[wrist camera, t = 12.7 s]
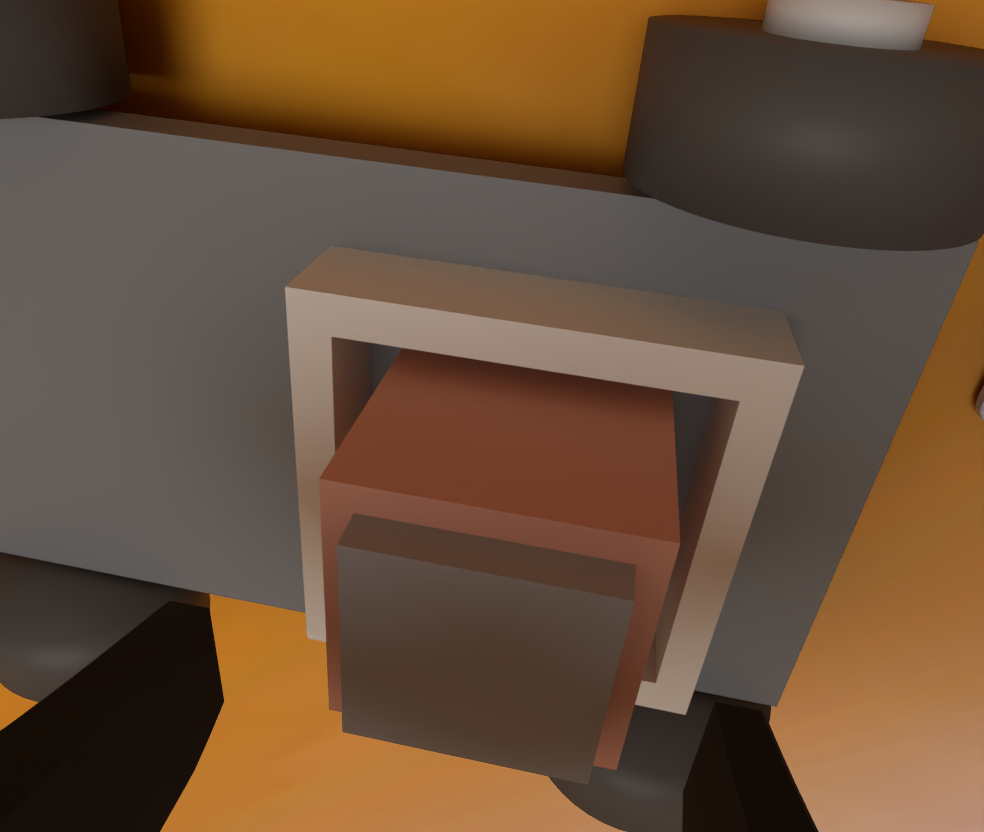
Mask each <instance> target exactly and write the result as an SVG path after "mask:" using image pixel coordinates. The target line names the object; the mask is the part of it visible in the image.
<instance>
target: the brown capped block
mask: <svg viewBox="0 0 984 832" xmlns="http://www.w3.org/2000/svg"><path fill="white" fill-rule="evenodd" d="M319 491H320V513H321V536H322V558H323V580H324V602H325V625H326V647H327V669H328V692H329V710H334V711H339V712H342V728H343V732H345V733H350V734H355V735H359V736H364V737H369V738H373V739H378V740H383V741H387V742H392V743H396V744H401V745H406V746H410V747H415V748H420V749H424V750H429V751H434V752H438V753H443V754H447V755H452V756H457V757H461V758H466V759H471V760H475V761H480V762H485V763H489V764H494V765H499V766H503V767H508V768H512V769H517V770H522V771H526V772H531V773H536V774H540V775H545V776H550V777H554V778H559V779H563V780H568V781H573V782H577V783H582V784H587V785H588V783H589V779H590V775H591V771H592V767H593V766H597V767H602V768H607V769H612V770H617V766H618V763H619V759H620V755H621V752H622V748H623V745H624V741H625V738H626V734H627V731H628V727H629V724H630V720H631V716H632V713H633V709H634V706H635V702H636V699H637V695H638V692H639V688H640V685H641V681H642V678H643V674H644V670H645V667H646V663H647V660H648V656H649V653H650V649H651V646H652V642H653V639H654V635H655V631H656V628H657V624H658V621H659V617H660V614H661V610H662V607H663V603H664V600H665V596H666V592H667V589H668V585H669V582H670V578H671V575H672V571H673V568H674V564H675V561H676V557H677V553H678V550H679V546H680V528H679V508H678V489H677V469H676V450H675V430H674V411H673V391H672V390H665V389H659V388H653V387H647V386H640V385H634V384H628V383H621V382H615V381H609V380H602V379H596V378H590V377H584V376H577V375H571V374H565V373H558V372H552V371H546V370H539V369H533V368H527V367H520V366H514V365H508V364H502V363H495V362H489V361H483V360H476V359H470V358H464V357H457V356H451V355H445V354H439V353H432V352H426V351H420V350H413V349H407V348H402V349H401V351H400V352H399V354H398V355H397V357H396V358H395V360H394V362H393V363H392V365H391V366H390V368H389V369H388V371H387V373H386V374H385V376H384V377H383V379H382V380H381V382H380V384H379V385H378V387H377V388H376V390H375V391H374V393H373V395H372V396H371V398H370V399H369V401H368V402H367V404H366V406H365V407H364V409H363V410H362V412H361V413H360V415H359V417H358V418H357V420H356V421H355V423H354V424H353V426H352V428H351V429H350V431H349V432H348V434H347V435H346V437H345V439H344V440H343V442H342V443H341V445H340V446H339V448H338V450H337V451H336V453H335V454H334V456H333V457H332V459H331V461H330V462H329V464H328V465H327V467H326V468H325V470H324V472H323V473H322V475H321V476H320V478H319Z"/></svg>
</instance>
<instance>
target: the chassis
mask: <svg viewBox="0 0 984 832" xmlns="http://www.w3.org/2000/svg"><path fill="white" fill-rule="evenodd" d="M934 7H935V5H934V4H927V3H920V2H912V1H904V0H768V1H767V6H766V10H765V14H764V18H763V21H761V20H749V19H737V18H723V17H707V16H684V15H663V16H653V17H650V18H649V19H648V25H647V30H646V36H645V42H644V48H643V54H642V60H641V65H640V71H639V77H638V83H637V89H636V95H635V100H634V106H633V112H632V118H631V124H630V130H629V135H628V141H627V147H626V153H625V159H624V165H623V173H624V175H625V177H626V178H623V177H615V176H607V175H600V174H592V173H584V172H577V171H569V170H561V169H553V168H546V167H538V166H530V165H523V164H515V163H507V162H500V161H492V160H484V159H477V158H469V157H461V156H454V155H446V154H438V153H430V152H423V151H415V150H407V149H400V148H392V147H384V146H377V145H369V144H361V143H354V142H346V141H338V140H331V139H323V138H315V137H308V136H300V135H292V134H284V133H277V132H269V131H261V130H254V129H246V128H238V127H231V126H223V125H215V124H208V123H200V122H192V121H185V120H177V119H169V118H162V117H154V116H146V115H138V114H131V113H123V112H115V111H108V110H100V109H90V110H85V111H79V112H73V113H65V114H58V115H49V116H39V117H27V118H13V119H0V683H1V684H2V685H3V686H4V687H6V688H7V689H9V690H10V691H11V692H13V693H15V694H17V695H19V696H21V697H23V698H26V699H29V700H33V701H36V702H40V701H41V700H42V699H44V698H45V697H46V696H48V695H49V694H50V693H52V692H53V691H54V690H56V689H57V688H58V687H60V686H61V685H62V684H64V683H65V682H66V681H67V680H69V679H70V678H71V677H73V676H74V675H75V674H77V673H78V672H79V671H80V670H82V669H83V668H84V667H86V666H87V665H88V664H89V663H91V662H92V661H93V660H94V659H96V658H97V657H98V656H99V655H101V654H102V653H103V652H105V651H106V650H107V649H108V648H110V647H111V646H112V645H113V644H115V643H116V642H117V641H118V640H120V639H121V638H122V637H123V636H125V635H126V634H127V633H128V632H130V631H131V630H132V629H133V628H135V627H136V626H137V625H139V624H140V623H141V622H142V621H144V620H145V619H146V618H147V617H149V616H150V615H151V614H152V613H154V612H155V611H156V610H158V609H159V608H160V607H162V606H163V605H164V604H166V603H167V602H168V601H174V602H180V603H185V604H191V605H196V606H201V607H207V608H209V609H210V596H209V594H214V595H219V596H224V597H229V598H234V599H239V600H244V601H249V602H254V603H259V604H264V605H269V606H274V607H279V608H284V609H289V610H294V611H299V612H304V613H306V628H307V638H309V639H314V640H319V641H324V642H326V625H325V602H324V580H323V558H322V536H321V513H320V491H319V478H320V476H321V475H322V473H323V472H324V470H325V468H326V467H327V465H328V464H329V462H330V461H331V459H332V457H333V456H334V454H335V453H336V451H337V450H338V448H339V446H340V445H341V443H342V442H343V440H344V439H345V437H346V435H347V434H348V432H349V431H350V429H351V428H352V426H353V424H354V423H355V421H356V420H357V418H358V417H359V415H360V413H361V412H362V410H363V409H364V407H365V406H366V404H367V402H368V401H369V399H370V398H371V396H372V395H373V393H374V391H375V390H376V388H377V387H378V385H379V384H380V382H381V380H382V379H383V377H384V376H385V374H386V373H387V371H388V369H389V368H390V366H391V365H392V363H393V362H394V360H395V358H396V357H397V355H398V354H399V352H400V351H401V349H402V348H407V349H413V350H420V351H426V352H432V353H439V354H445V355H451V356H457V357H464V358H470V359H476V360H483V361H489V362H495V363H502V364H508V365H514V366H520V367H527V368H533V369H539V370H546V371H552V372H558V373H565V374H571V375H577V376H584V377H590V378H596V379H602V380H609V381H615V382H621V383H628V384H634V385H640V386H647V387H653V388H659V389H665V390H672V391H673V411H674V430H675V450H676V469H677V489H678V508H679V528H680V546H679V550H678V553H677V557H676V561H675V564H674V568H673V571H672V575H671V578H670V582H669V585H668V589H667V592H666V596H665V600H664V603H663V607H662V610H661V614H660V617H659V621H658V624H657V628H656V631H655V635H654V639H653V642H652V646H651V649H650V653H649V656H648V660H647V663H646V667H645V670H644V674H643V678H642V681H641V685H640V688H639V692H638V695H637V699H636V702H635V706H634V709H633V713H632V716H631V720H630V724H629V727H628V731H627V734H626V738H625V741H624V745H623V748H622V752H621V755H620V759H619V763H618V766H617V770H612V769H607V768H602V767H597V766H593V767H592V771H591V775H590V779H589V783H588V785H587V784H582V783H577V782H573V781H568V780H563V779H559V778H554V777H550V776H549V777H550V779H551V780H552V782H553V783H554V784H555V785H556V787H557V788H558V789H559V790H560V791H561V792H562V793H563V794H564V795H565V796H566V797H567V798H568V799H569V800H570V801H571V802H572V803H574V804H575V805H576V806H577V807H579V808H580V809H581V810H583V811H584V812H586V813H587V814H588V815H590V816H592V817H594V818H595V819H597V820H599V821H601V822H603V823H605V824H607V825H610V826H612V827H614V828H617V829H619V830H623V831H627V832H682V817H683V790H684V787H685V784H686V782H687V779H688V776H689V773H690V770H691V767H692V765H693V762H694V759H695V756H696V753H697V751H698V748H699V745H700V742H701V739H702V736H703V734H704V731H705V728H706V725H707V722H708V719H709V717H710V714H711V711H712V708H713V705H714V703H715V702H719V703H724V704H729V705H735V706H740V707H746V708H751V709H756V710H761V711H762V712H763V714H764V715H765V716H766V717H767V720H768V722H769V721H770V712H771V706H775V707H777V704H778V702H779V700H780V697H781V695H782V693H783V690H784V688H785V686H786V684H787V681H788V679H789V677H790V674H791V672H792V670H793V667H794V665H795V663H796V661H797V658H798V656H799V654H800V651H801V649H802V647H803V645H804V642H805V640H806V638H807V635H808V633H809V631H810V628H811V626H812V624H813V622H814V619H815V617H816V615H817V612H818V610H819V608H820V605H821V603H822V601H823V599H824V596H825V594H826V592H827V589H828V587H829V585H830V582H831V580H832V578H833V576H834V573H835V571H836V569H837V566H838V564H839V562H840V559H841V557H842V555H843V553H844V550H845V548H846V546H847V543H848V541H849V539H850V536H851V534H852V532H853V530H854V527H855V525H856V523H857V520H858V518H859V516H860V513H861V511H862V509H863V507H864V504H865V502H866V500H867V497H868V495H869V493H870V490H871V488H872V486H873V484H874V481H875V479H876V477H877V474H878V472H879V470H880V467H881V465H882V463H883V461H884V458H885V456H886V454H887V451H888V449H889V447H890V445H891V442H892V440H893V438H894V435H895V433H896V431H897V428H898V426H899V424H900V422H901V419H902V417H903V415H904V412H905V410H906V408H907V405H908V403H909V401H910V399H911V396H912V394H913V392H914V389H915V387H916V385H917V382H918V380H919V378H920V376H921V373H922V371H923V369H924V366H925V364H926V362H927V359H928V357H929V355H930V353H931V350H932V348H933V346H934V343H935V341H936V339H937V336H938V334H939V332H940V330H941V327H942V325H943V323H944V320H945V318H946V316H947V313H948V311H949V309H950V307H951V304H952V302H953V300H954V297H955V295H956V293H957V290H958V288H959V286H960V284H961V281H962V279H963V277H964V274H965V272H966V270H967V267H968V265H969V263H970V261H971V258H972V256H973V254H974V251H975V249H976V247H977V245H978V242H979V241H977V240H978V239H979V238H981V237H982V235H983V233H984V49H979V48H974V47H968V46H962V45H955V44H949V43H942V42H936V41H929V40H923V39H924V36H925V33H926V31H927V28H928V25H929V22H930V19H931V16H932V13H933V10H934Z"/></svg>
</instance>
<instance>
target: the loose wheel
mask: <svg viewBox="0 0 984 832" xmlns="http://www.w3.org/2000/svg"><path fill="white" fill-rule="evenodd" d="M131 92H132V91H131V84H130V78H129V71H128V65H127V58H126V52H125V45H124V39H123V32H122V26H121V19H120V13H119V7H118V0H0V119H13V118H27V117H39V116H49V115H58V114H65V113H73V112H79V111H85V110H90V109H95V108H99V107H104V106H107V105H111V104H114V103H117V102H119V101H121V100H124V99H125V98H127V97H128V96H130V94H131Z"/></svg>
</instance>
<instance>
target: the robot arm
mask: <svg viewBox="0 0 984 832" xmlns="http://www.w3.org/2000/svg"><path fill="white" fill-rule="evenodd" d="M975 406H976V410H977V413H978V414H979V415H980V417H981V418H982V419H983V420H984V385H983V387H982V390H981V392H980V394H979V396H978V398H977V401H976V405H975ZM223 703H224V697H223V690H222V684H221V678H220V672H219V665H218V659H217V653H216V647H215V641H214V634H213V628H212V622H211V616H210V609H209V608H207V607H201V606H196V605H191V604H185V603H180V602H174V601H168V602H167V603H166V604H164V605H163V606H162V607H160V608H159V609H158V610H156V611H155V612H154V613H152V614H151V615H150V616H149V617H147V618H146V619H145V620H144V621H142V622H141V623H140V624H139V625H137V626H136V627H135V628H133V629H132V630H131V631H130V632H128V633H127V634H126V635H125V636H123V637H122V638H121V639H120V640H118V641H117V642H116V643H115V644H113V645H112V646H111V647H110V648H108V649H107V650H106V651H105V652H103V653H102V654H101V655H99V656H98V657H97V658H96V659H94V660H93V661H92V662H91V663H89V664H88V665H87V666H86V667H84V668H83V669H82V670H80V671H79V672H78V673H77V674H75V675H74V676H73V677H71V678H70V679H69V680H67V681H66V682H65V683H64V684H62V685H61V686H60V687H58V688H57V689H56V690H54V691H53V692H52V693H50V694H49V695H48V696H46V697H45V698H44V699H42V700H41V701H40V702H39V703H37V704H36V705H35V706H33V707H32V708H31V709H29V710H28V711H27V712H25V713H24V714H23V715H21V716H20V717H19V718H17V719H16V720H15V721H13V722H12V723H11V724H9V725H8V726H6V727H5V728H4V729H2V730H1V731H0V832H160V831H161V829H162V827H163V825H164V824H165V822H166V820H167V818H168V817H169V815H170V813H171V811H172V809H173V808H174V806H175V804H176V802H177V801H178V799H179V797H180V795H181V794H182V792H183V790H184V788H185V787H186V785H187V783H188V781H189V779H190V777H191V776H192V774H193V772H194V770H195V768H196V766H197V763H198V761H199V759H200V757H201V755H202V752H203V750H204V748H205V746H206V743H207V741H208V739H209V736H210V734H211V732H212V729H213V727H214V725H215V722H216V720H217V717H218V715H219V713H220V710H221V708H222V705H223ZM682 832H818V830H817V828H816V826H815V824H814V822H813V820H812V817H811V815H810V813H809V811H808V809H807V807H806V805H805V803H804V801H803V798H802V796H801V794H800V792H799V790H798V788H797V786H796V784H795V781H794V779H793V777H792V775H791V773H790V770H789V768H788V766H787V764H786V762H785V759H784V757H783V755H782V753H781V750H780V748H779V746H778V743H777V741H776V739H775V736H774V734H773V732H772V729H771V727H770V724H769V722H768V720H767V717H766V716H765V715H764V714H763V712H762V711H761V710H756V709H751V708H746V707H740V706H735V705H729V704H724V703H719V702H715V703H714V705H713V708H712V711H711V714H710V717H709V719H708V722H707V725H706V728H705V731H704V734H703V736H702V739H701V742H700V745H699V748H698V751H697V753H696V756H695V759H694V762H693V765H692V767H691V770H690V773H689V776H688V779H687V782H686V784H685V787H684V790H683V817H682Z"/></svg>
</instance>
